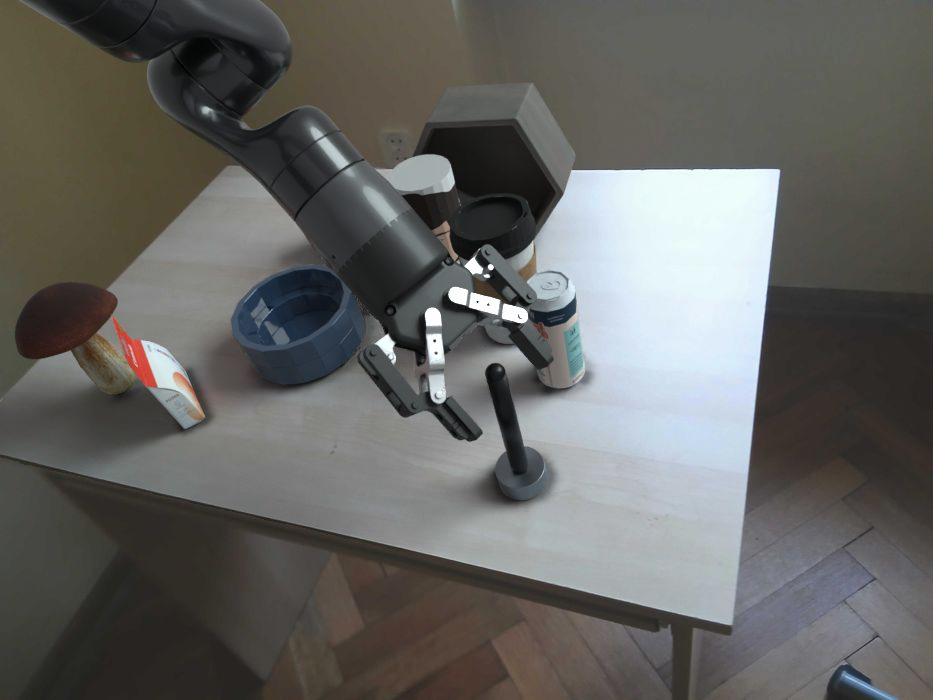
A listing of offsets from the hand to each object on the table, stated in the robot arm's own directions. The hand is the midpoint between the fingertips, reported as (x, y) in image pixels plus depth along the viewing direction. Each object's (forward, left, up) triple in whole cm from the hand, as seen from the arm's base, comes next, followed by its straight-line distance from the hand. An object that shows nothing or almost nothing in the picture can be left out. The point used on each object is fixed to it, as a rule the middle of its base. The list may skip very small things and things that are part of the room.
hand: (512, 400), depth 54 cm
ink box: (-32, +27, -12) cm, 43 cm away
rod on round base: (-1, +1, -12) cm, 12 cm away
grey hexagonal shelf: (+10, +37, -12) cm, 40 cm away
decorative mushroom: (-39, +33, -12) cm, 52 cm away
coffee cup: (+5, +20, -12) cm, 24 cm away
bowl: (-17, +29, -12) cm, 36 cm away
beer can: (+7, +11, -12) cm, 18 cm away
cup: (+1, +31, -12) cm, 33 cm away
